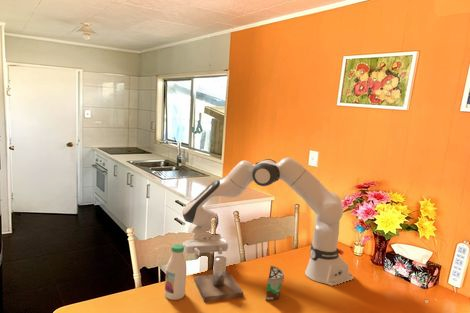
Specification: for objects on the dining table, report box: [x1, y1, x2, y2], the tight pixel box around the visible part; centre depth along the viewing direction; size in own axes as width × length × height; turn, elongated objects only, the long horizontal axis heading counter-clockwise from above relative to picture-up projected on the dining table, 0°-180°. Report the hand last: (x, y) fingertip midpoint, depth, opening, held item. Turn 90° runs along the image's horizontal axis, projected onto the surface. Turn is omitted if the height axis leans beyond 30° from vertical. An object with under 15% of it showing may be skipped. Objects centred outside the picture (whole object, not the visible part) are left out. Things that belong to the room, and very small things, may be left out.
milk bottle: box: [164, 243, 187, 301], centre depth 128 cm, size 8×8×20 cm
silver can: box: [212, 255, 227, 287], centre depth 136 cm, size 5×5×11 cm
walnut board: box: [193, 272, 244, 303], centre depth 137 cm, size 16×16×2 cm
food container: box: [265, 265, 285, 302], centre depth 135 cm, size 12×6×10 cm, turn 168°
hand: (210, 253), depth 147 cm, fingers open, 8 cm apart
